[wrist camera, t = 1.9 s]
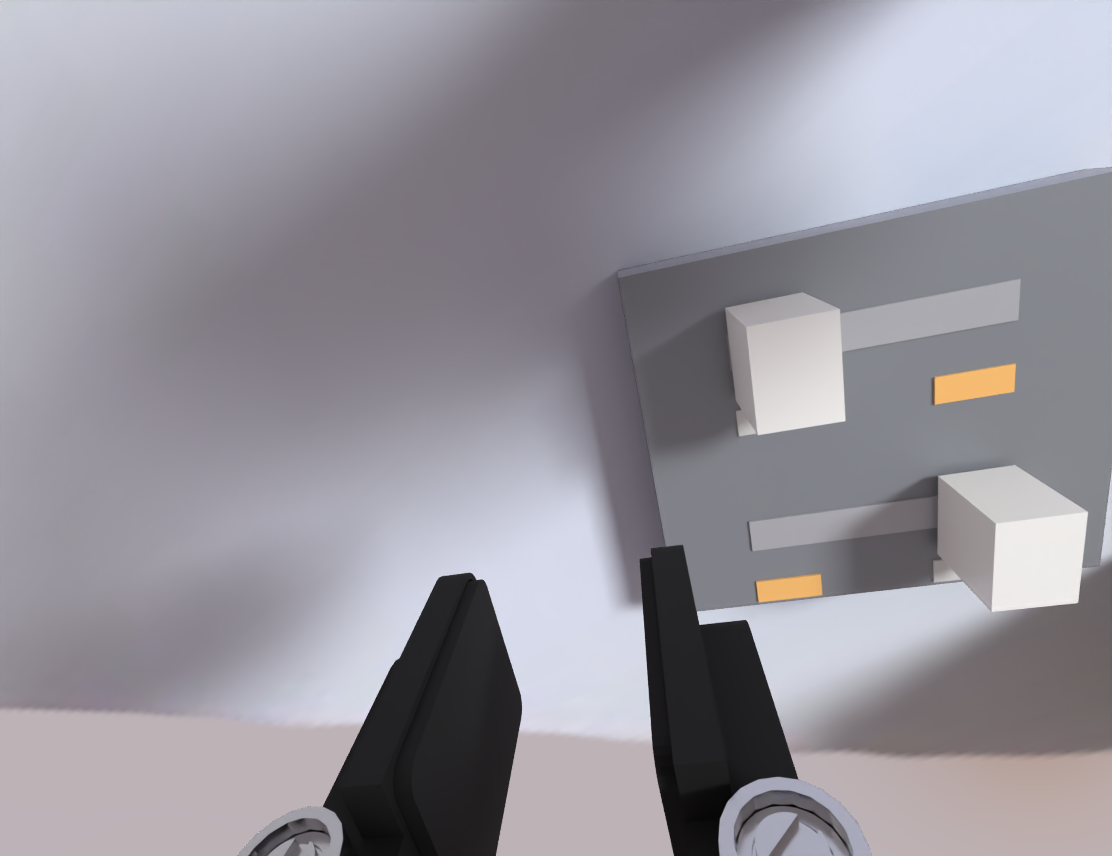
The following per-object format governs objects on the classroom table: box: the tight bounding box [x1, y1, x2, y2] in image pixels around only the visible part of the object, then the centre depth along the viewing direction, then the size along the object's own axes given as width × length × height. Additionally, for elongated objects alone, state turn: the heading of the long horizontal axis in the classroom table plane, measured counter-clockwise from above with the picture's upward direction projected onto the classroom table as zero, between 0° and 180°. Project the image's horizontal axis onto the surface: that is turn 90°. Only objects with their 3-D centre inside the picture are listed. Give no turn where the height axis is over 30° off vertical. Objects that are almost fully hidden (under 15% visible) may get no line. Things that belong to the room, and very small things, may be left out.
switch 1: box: [725, 292, 845, 435], centre depth 21 cm, size 4×3×4 cm
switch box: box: [618, 167, 1112, 611], centre depth 26 cm, size 17×19×3 cm
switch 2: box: [937, 465, 1088, 612], centre depth 23 cm, size 4×3×4 cm
